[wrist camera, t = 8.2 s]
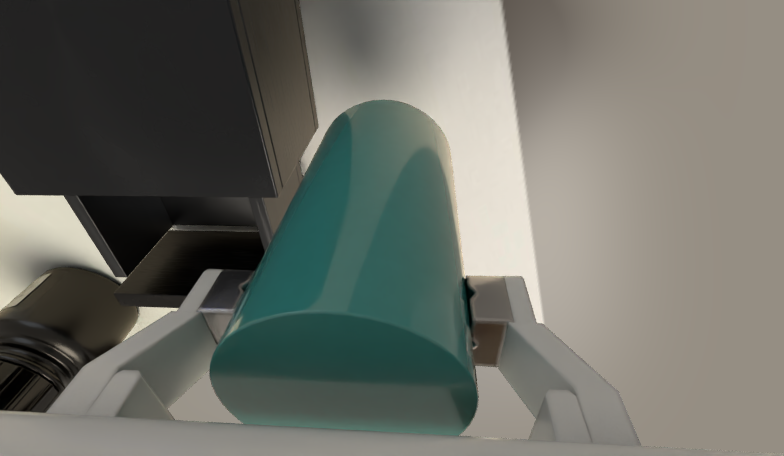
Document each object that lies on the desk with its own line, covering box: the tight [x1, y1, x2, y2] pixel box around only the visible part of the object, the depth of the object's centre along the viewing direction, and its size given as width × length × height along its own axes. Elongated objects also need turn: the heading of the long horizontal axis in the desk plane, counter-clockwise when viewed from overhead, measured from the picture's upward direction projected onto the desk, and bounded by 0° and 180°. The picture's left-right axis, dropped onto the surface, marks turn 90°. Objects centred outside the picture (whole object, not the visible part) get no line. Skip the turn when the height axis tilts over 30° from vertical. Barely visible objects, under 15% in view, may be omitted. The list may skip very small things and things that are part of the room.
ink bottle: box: [0, 267, 138, 413], centre depth 33 cm, size 10×9×12 cm
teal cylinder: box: [210, 100, 479, 436], centre depth 13 cm, size 6×6×11 cm
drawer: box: [64, 162, 302, 308], centre depth 25 cm, size 19×12×7 cm, turn 2°
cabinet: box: [0, 0, 318, 198], centre depth 18 cm, size 16×14×9 cm
